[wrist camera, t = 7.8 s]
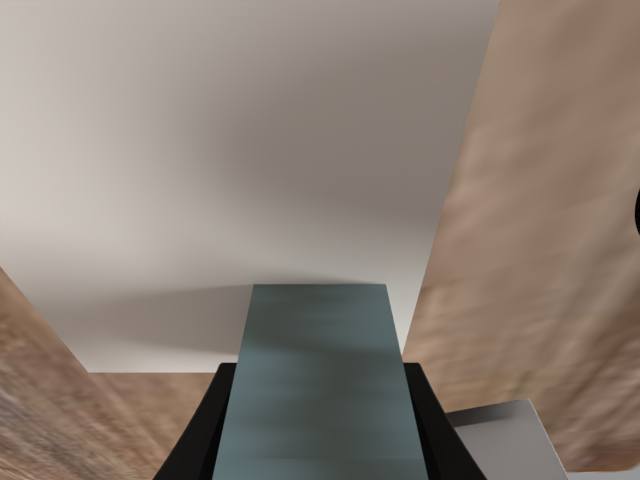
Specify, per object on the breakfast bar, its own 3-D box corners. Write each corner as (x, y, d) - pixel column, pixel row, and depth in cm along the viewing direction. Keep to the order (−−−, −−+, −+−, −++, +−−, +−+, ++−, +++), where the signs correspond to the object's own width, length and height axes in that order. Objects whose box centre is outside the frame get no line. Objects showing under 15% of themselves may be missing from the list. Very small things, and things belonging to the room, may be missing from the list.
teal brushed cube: (266, 357, 16) (242, 535, 11) (253, 284, 13) (210, 488, 8) (372, 357, 16) (397, 535, 11) (385, 284, 13) (429, 487, 8)
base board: (100, 351, 18) (88, 372, 17) (-175, -23, 8) (-241, -24, 7) (393, 351, 18) (397, 372, 17) (484, -23, 8) (506, -23, 7)
